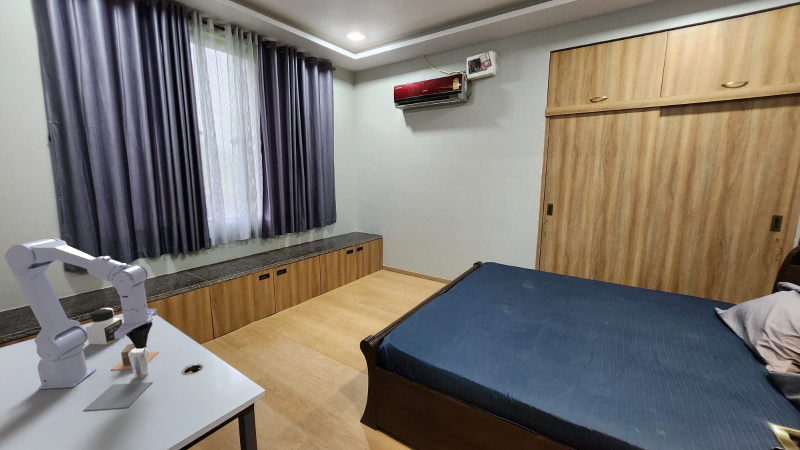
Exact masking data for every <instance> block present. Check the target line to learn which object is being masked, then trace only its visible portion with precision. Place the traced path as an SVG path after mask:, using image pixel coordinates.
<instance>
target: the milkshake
mask: <svg viewBox="0 0 800 450" xmlns="http://www.w3.org/2000/svg"><path fill="white" fill-rule="evenodd" d="M147 352H148V347H147V348H146V347H144V348H143V349H136V348H134V349H132V350H131V351H130V352H129V353H128V357H129V360H130V362H131V365H132V369H131V370H132V372H133V375H134V379H140V378H143V377H146V376H147V375H148V374H149V371H148V369H149V368H148V363H147Z"/></svg>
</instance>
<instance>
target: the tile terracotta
mask: <svg viewBox="0 0 800 450" xmlns="http://www.w3.org/2000/svg"><path fill="white" fill-rule="evenodd" d="M147 352H148V355H147V364H148V363H149V362H150V361H151V360H152V359H153V358H154V357H155V356H156V355H158V354H159V352H160V351H147ZM121 370H122V371H123V370H133V369H132V365H128V366H123V361H122V360H121V361H120V362H118V363H117V364H116V365H115V366H113V367H112V368H111V369H110V371H121Z"/></svg>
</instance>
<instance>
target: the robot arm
mask: <svg viewBox="0 0 800 450" xmlns="http://www.w3.org/2000/svg"><path fill="white" fill-rule="evenodd" d="M3 256H4V259H5V260H6V262H7V264H8V266H9V268H10V270H11V272H12V274H13V276H14V279H15V280H16V282H17V285H19V287H20V290H21V292H22V294H23V296H24V297H25V299H26V301H27V302H28V303H27V304H29V307H30V309H31V310H32V312H33V313H32V314H34V317H35V318H36V321H37V323H38V324H39V326H40V328H41V330H40V331H39V333H38V334H37V336H36V337H35V338H34V342H35V345H36V353H37V355H38V356H39V357H40V360H39V361H38V364H37V372H38V376H39V380H40V386H39V387H38V389H39V390H43V389H46V390H47V389H57V388H58V389H60V388H74V387H76V386H78V384H80V383H81V382H83V380H85V379H86V378H88V377H89V376H90V375H91V374H92V373H94V372H95V371H96V370H97V369H96V368H87V367H88V366H87V362H86V358H85V352H84V347H85V345H86V344H85V343H86V342H88V332H87V331H86V328H85V327H83V326H82V324H81V323H80V321H78V320H75V319H69V318H68V317H67V314H66V312H65V311H64V308H63V306H62V305H61V303H60V300H59V299H58V297H57V296H58V295H56V292H55V291H54V289H53V286H52V285H51V282H50V280H49V279H48V277H47V275H46V273H45V272H46V270H47V269H48V268H49V267H50V265H51V264H53V263H55V261H59V262H62V263H66V264H68V265H69V264H70V265H74V266H77V267H80V268H83V269H86V270H87V273H88V274H89V276H90V275H91V276H93V277H96V278H99V279H102V280H105V281H107V282H109V283H111V285H112V287H114V288H115V289H116V292H117V295H119V299H120V300H119V301H120V306H121V313H122V317H123V321H122V325H121V326H120V328H119V329H118V330H117V331H116V332H114V336H115V339H116V340H118V339H119V340H121V339H124V338H125V337H127V338H129V340H130V341H131V342H132V344H134V346H135V348H136V349H143V348H144V347H146V346H147V345H148V344H147V343H148V337H149V333H150V330H151V328H152V326H153V322H152V321H153V320H154V318H153V317H154V316H157V315H158V310H157V308H150V309H148V302H147V300H148V299H147V294H146V289H145V288H146V287H145V281H147V279H148V278H149V273H148V270H147V268H145V267H144V266H142V265H141V264H137V263H135V264H132V265H130V264H127V263H125V262H124V263H123V262H120V261H119V260H114V259H112V258H111V256H109V255H106V256H104V255H103V256H102V255H101V256H97V257H95V256H91V254H88V253H86V252H83V251H82V250H79V249H77V248H74V247H71V246H69V245H68V244H67V241H65V240H63V239H59V238H57V237H54V236H53V237H51V236H49V237H46V238H42V239H37V240H32V241H29V242H24V243H18V244H17V243H16V244H13V245H10V247H9V248H8V249H7V250H6V252H5V254H4V255H3Z"/></svg>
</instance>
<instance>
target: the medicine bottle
mask: <svg viewBox="0 0 800 450" xmlns="http://www.w3.org/2000/svg"><path fill="white" fill-rule="evenodd" d="M114 313H115V312H114V309H113V308H111V307H102V308H99V309H95V310H94V311H92V312H91V313H90V318H91V322H92V323H90V324H89V325H86V326H85V330H86V331H87V332H88V339H87V342H88V345H110V344H111V343H113V342H115V341H116V340H117V339H115V336H114V332H116V331H117V330H118V329H119V328H120V326H121V325H122V324H123V321H122V318H120V317H115V314H114Z"/></svg>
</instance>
